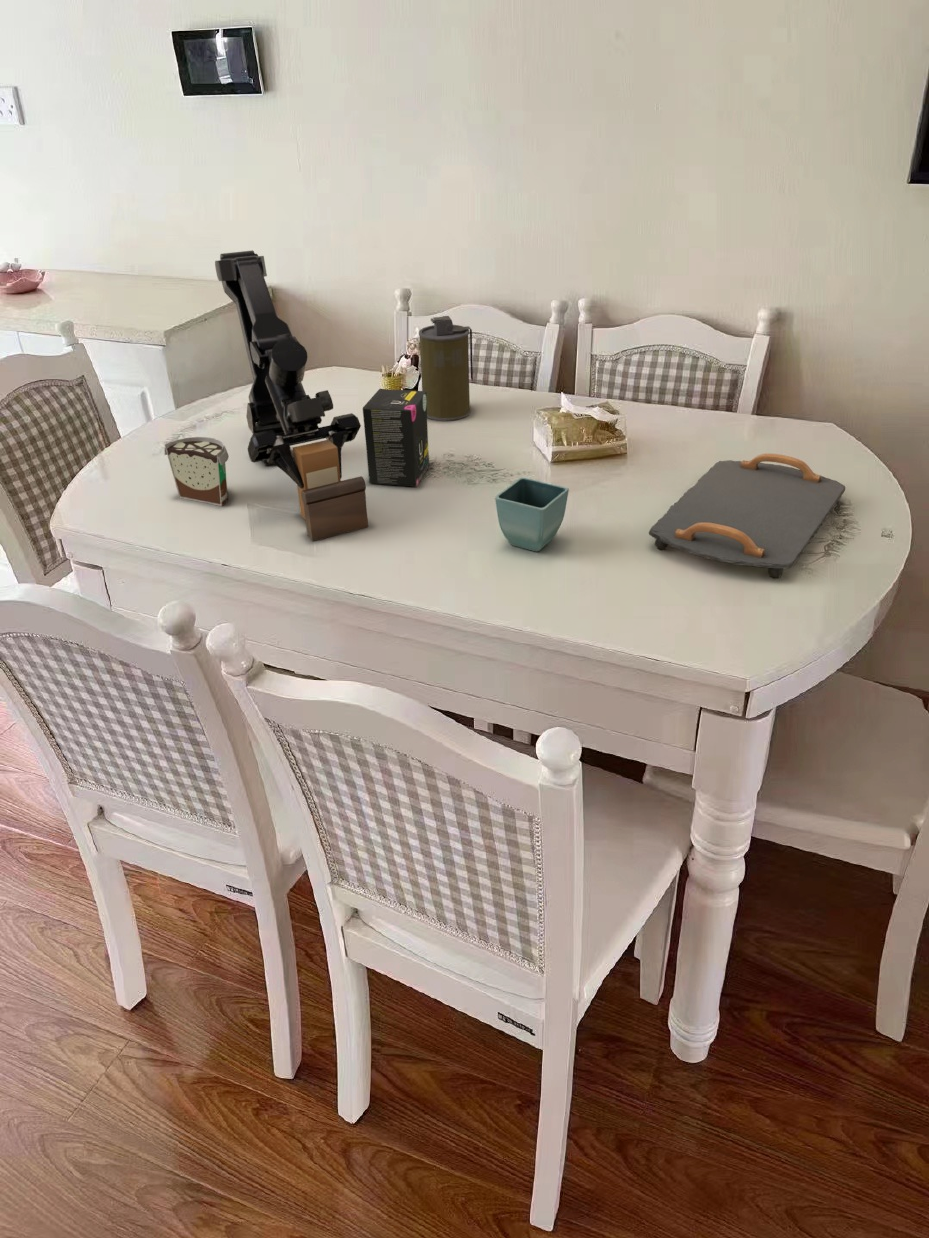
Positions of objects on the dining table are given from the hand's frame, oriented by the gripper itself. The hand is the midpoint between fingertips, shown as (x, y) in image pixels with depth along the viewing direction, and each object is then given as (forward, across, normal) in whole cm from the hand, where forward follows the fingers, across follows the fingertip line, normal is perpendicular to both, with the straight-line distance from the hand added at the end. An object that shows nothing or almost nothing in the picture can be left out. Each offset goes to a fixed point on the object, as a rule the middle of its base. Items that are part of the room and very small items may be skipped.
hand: (321, 483), depth 161 cm
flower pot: (+23, +25, -14) cm, 37 cm away
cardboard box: (+4, 0, +6) cm, 7 cm away
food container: (-9, -14, +19) cm, 25 cm away
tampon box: (-2, +19, +12) cm, 23 cm away
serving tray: (+32, +59, -23) cm, 71 cm away
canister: (-19, +42, +29) cm, 54 cm away
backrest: (+9, 0, +1) cm, 9 cm away
